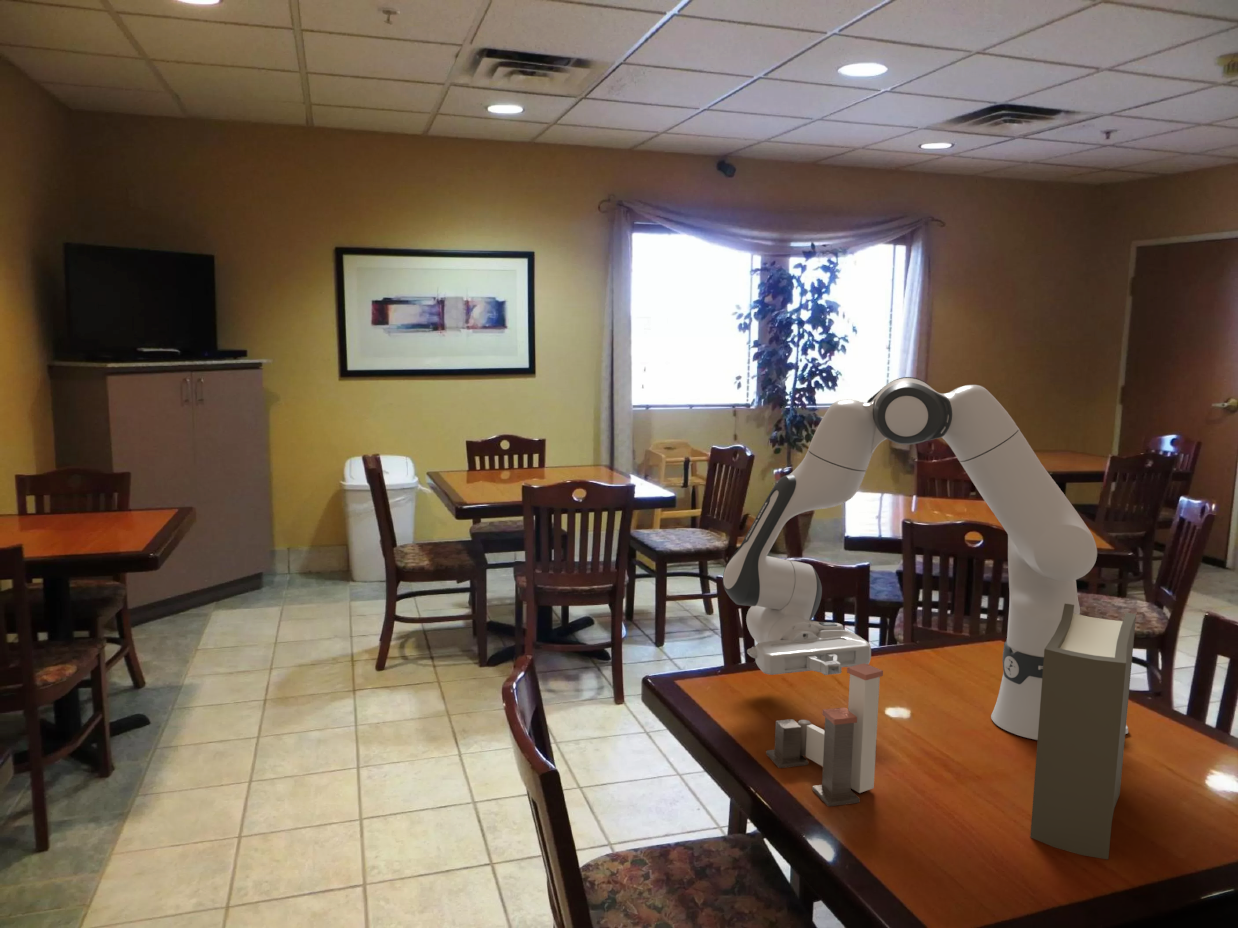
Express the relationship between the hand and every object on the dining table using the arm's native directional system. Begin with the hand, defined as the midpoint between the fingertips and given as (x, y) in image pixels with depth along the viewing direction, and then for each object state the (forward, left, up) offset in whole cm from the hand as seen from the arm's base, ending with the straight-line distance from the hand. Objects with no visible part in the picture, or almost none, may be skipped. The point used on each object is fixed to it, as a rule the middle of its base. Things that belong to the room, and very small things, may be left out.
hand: (833, 669), depth 147 cm
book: (-23, +30, -13) cm, 40 cm away
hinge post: (+10, +4, -13) cm, 17 cm away
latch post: (+8, +17, -13) cm, 22 cm away
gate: (+5, +10, -12) cm, 17 cm away
